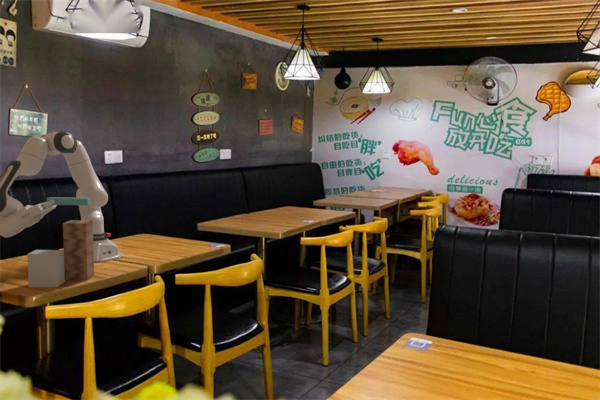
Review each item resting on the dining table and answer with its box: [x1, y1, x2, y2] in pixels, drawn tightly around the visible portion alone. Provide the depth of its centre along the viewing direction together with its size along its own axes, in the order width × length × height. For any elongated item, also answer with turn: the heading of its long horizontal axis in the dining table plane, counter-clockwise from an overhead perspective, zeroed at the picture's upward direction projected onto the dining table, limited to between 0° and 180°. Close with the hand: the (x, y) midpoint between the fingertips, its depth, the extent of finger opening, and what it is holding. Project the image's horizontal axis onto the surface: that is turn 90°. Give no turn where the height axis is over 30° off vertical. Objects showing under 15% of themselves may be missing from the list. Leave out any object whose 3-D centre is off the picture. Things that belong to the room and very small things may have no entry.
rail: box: [46, 196, 90, 206], centre depth 253 cm, size 18×4×3 cm, turn 93°
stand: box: [62, 219, 95, 282], centre depth 255 cm, size 10×10×26 cm
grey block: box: [26, 249, 66, 288], centre depth 243 cm, size 12×9×14 cm
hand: (56, 200), depth 252 cm, fingers closed on rail, 3 cm apart
